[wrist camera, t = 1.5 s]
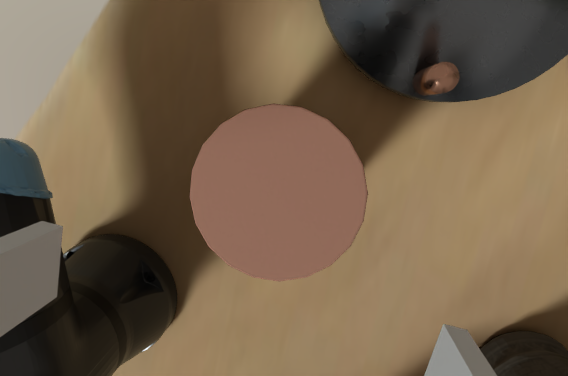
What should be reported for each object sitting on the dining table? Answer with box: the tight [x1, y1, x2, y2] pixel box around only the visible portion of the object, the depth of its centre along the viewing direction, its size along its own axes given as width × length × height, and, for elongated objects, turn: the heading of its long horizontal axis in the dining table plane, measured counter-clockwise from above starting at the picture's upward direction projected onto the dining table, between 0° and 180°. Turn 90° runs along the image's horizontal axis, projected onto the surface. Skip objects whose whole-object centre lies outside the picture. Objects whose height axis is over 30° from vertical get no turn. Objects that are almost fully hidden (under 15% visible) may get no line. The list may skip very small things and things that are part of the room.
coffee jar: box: [190, 104, 368, 281], centre depth 30 cm, size 11×11×18 cm
